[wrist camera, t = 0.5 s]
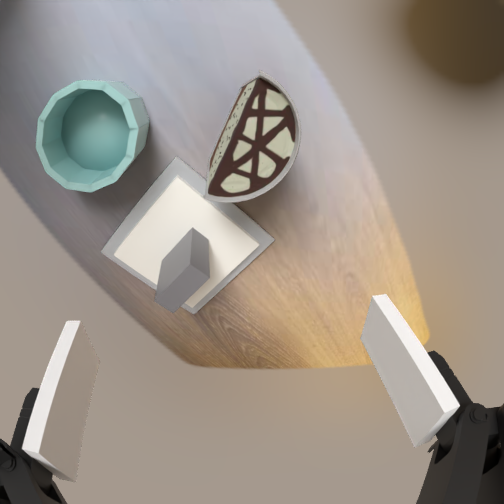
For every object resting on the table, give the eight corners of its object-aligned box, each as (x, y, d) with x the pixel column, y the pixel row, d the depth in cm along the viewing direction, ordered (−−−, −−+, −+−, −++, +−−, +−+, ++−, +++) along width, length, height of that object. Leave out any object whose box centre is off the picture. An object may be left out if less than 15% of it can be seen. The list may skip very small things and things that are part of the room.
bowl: (45, 139, 29) (20, 151, 24) (97, 62, 26) (77, 59, 21) (110, 191, 34) (94, 211, 28) (168, 119, 31) (160, 125, 25)
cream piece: (115, 251, 37) (96, 294, 29) (177, 174, 33) (169, 203, 26) (192, 303, 43) (192, 351, 35) (258, 241, 39) (272, 283, 32)
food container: (252, 190, 36) (268, 227, 28) (203, 172, 34) (202, 204, 26) (297, 96, 31) (331, 102, 23) (247, 73, 29) (263, 68, 21)
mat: (101, 250, 37) (100, 252, 37) (177, 155, 33) (176, 156, 32) (194, 312, 44) (194, 314, 44) (274, 238, 40) (274, 240, 40)
